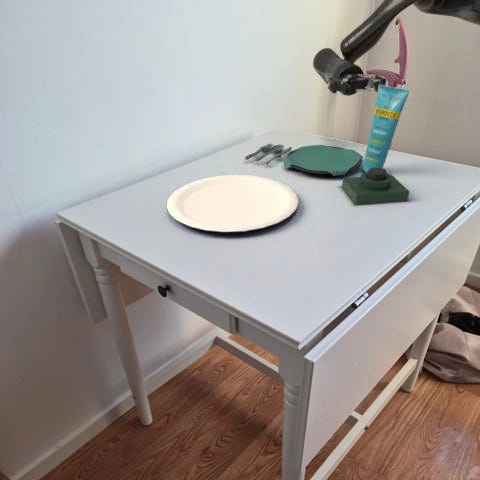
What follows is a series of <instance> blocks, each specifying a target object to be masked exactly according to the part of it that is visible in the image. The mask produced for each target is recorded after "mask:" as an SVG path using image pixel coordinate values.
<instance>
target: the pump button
mask: <svg viewBox="0 0 480 480" xmlns="http://www.w3.org/2000/svg"><path fill="white" fill-rule="evenodd" d="M386 173H388V171H387V170H386V169H385V168H384V167H383V168H370V169H369V170H368V175H367V178H368V179H370V180H375V181H383V180H385V178H386Z"/></svg>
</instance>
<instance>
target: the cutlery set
mask: <svg viewBox="0 0 480 480" xmlns="http://www.w3.org/2000/svg"><path fill="white" fill-rule="evenodd" d="M284 148H285V146H284V144H275V145H274V143H268V144H266V145H263V146H260V147H259V149H257V150H256V151H255V152H253V153H250V154H248V155H246V156H244V160H246V161H249V160H250V159H252V158H253V157H256V156H257V155H259V154H260V153H261V152H266V151H268V150H269V149H270V151H268V152H266V153H264V154H262V155H260V156H258V157H256V158H255V162H260V161H261V160H262V159H264V158H265V157H267V156H270V154H273V153H276V154H275V155H274V157H273V158H271V159H270V160H268V161H266V162H265V165H266V166H269V164H270V163H271V162H272V161H274V160H276V159H279V158H280V159H281V158H282V156H283V155H285V156H284V158H283V165H284V167H285V168H286V169H288V166H290V167H292V168H294V169H296V170H298V171H302V172H306V173H309V174H318V175H332V176H333V177H336V176H344V175H346V173H348V172H351V171H354V170H355V169H357V168H358V167H360V166H361V165H362V163H363V158H364V156H363V155H361V153H359V152H358V151H356V150H355V149H351V148H344V147H339V146H333V145H332V146H330V145H324V144H313V145H312V144H311V145H303V146H300V147H298V148H296V149H294V150H292V148H293V147H292V146H289V147H288V148H286V149H285V150H283V149H284ZM282 150H283V151H282ZM279 152H280V153H279Z"/></svg>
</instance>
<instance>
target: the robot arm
mask: <svg viewBox="0 0 480 480" xmlns="http://www.w3.org/2000/svg"><path fill="white" fill-rule="evenodd" d="M412 5H413V6H414V7H415V8H416V9H417V10H418V11H420V12H421V13H424V14H427V15H434V16H435V15H436V16H445V17H452V18H457V19H460V20H462V21H465V22H467V23H470V24H473V25H477V26H479V27H480V0H383V1H381V3H380V5H379V6H377V8H376V9H375V10H374V11H373V12H372V13H371V14H369V16H368V17H367V18H366V19H365V20H364V21H363V22H362V23H360V24H359V25H358V26H357V27H356V28H354V29H353V30H352V31H350V33H348V34H347V35H346V36H345V37H344V38H343V39H342V40H341V42H340V44H339V48H340V52H341V55H342V57H340V56H339V55H338V54H337V52H335V50H333V49H332V48H330V47H324V48H321V49H320V50H318V52H317V53H316V54H315V55H314V57H313V60H312V67H313V69H314V71H315V72H316V74H317V75H318V76H319V77H320V78H321V79H322V81H323V82H324V83H325V84H326V85H327V90H328V91H330V92H331V93H332V94H337V92H339V94H341V95H343V96H346V97H349V96H353V95H355V94H357V93H359V92H366V93H369V92H371V91H372V92H373V91H374V92H376V93H378V86H379V84H380V85H384V86H387V81H388V79H387V78H385V77H383V76H381V75H378V74H374V75H373V76H371V75H366V74H365V73H364V71H363V68H361V67H360V66H359V65H357V64H356V62H357V61H358V60H359V59H360V58H362V57H363V56H364V55H366V54H367V53H368V52H369V51H370V50H372V49H373V48H374V47H375V46H376V45H377V44H378V43H379V42H380V41H381V39H382V37H383V36H384V34H385V33H386V31H387V29H388V27H389V26H390V25H391V23H392V22H393V21H394V19H395V18H396V17H397V16H398V15H400V14H401V13H402V12H403V11H404V10H406V9H408V8H409V7H410V6H412Z"/></svg>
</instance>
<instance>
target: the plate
mask: <svg viewBox="0 0 480 480" xmlns="http://www.w3.org/2000/svg"><path fill="white" fill-rule="evenodd" d="M298 206H299V198H298V196H297V193H296V192H295V191H294V190H293V189H292V188H291V187H290V186H288V185H286V184H284V183H283V182H281V181H277V180H275V179H272V178H268V177H264V176H263V177H262V176H258V175H247V174H225V175H224V174H223V175H218V176H209V177H204V178H202V179H198V180H194V181H192V182H189V183H187V184H184V185H183V186H181V187H180V188H178V189H177V190H175V191H173V193H172V194H171V195H170V196H169V198H168V199H167V203H166V209H167V211H168V213H169V216H171V217H172V218H173V219H174V220H175V221H176V222H178V223H179V224H181V225H184V226H186V227H189V228H192V229H195V230H201V231H204V232H212V233H224V234H227V233H228V234H229V233H230V234H231V233H246V232H252V231H257V230H258V231H259V230H263V229H265V228H269V227H272V226H274V225H278V224H279V223H281V222H283V221H286V220H287V219H289V218H290V217H291V216H292V215H293V214H294V213H295V212H296V211H297V208H298Z"/></svg>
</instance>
